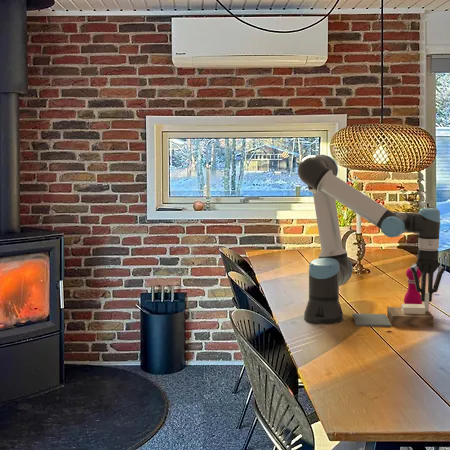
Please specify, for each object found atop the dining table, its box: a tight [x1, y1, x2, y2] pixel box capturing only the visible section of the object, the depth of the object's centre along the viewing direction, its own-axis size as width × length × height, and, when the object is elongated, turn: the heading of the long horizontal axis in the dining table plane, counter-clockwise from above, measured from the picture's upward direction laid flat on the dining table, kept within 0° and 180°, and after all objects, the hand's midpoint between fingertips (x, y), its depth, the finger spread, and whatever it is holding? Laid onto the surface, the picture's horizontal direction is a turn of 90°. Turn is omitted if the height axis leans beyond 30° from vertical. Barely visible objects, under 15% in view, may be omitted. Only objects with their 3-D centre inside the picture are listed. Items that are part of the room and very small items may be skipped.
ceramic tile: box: [400, 303, 426, 314], centre depth 230 cm, size 8×6×2 cm
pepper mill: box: [403, 263, 423, 304], centre depth 245 cm, size 7×7×20 cm
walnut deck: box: [386, 306, 434, 328], centre depth 231 cm, size 15×13×4 cm
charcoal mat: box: [352, 312, 392, 328], centre depth 233 cm, size 13×15×1 cm
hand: (425, 309), depth 230 cm, fingers closed
